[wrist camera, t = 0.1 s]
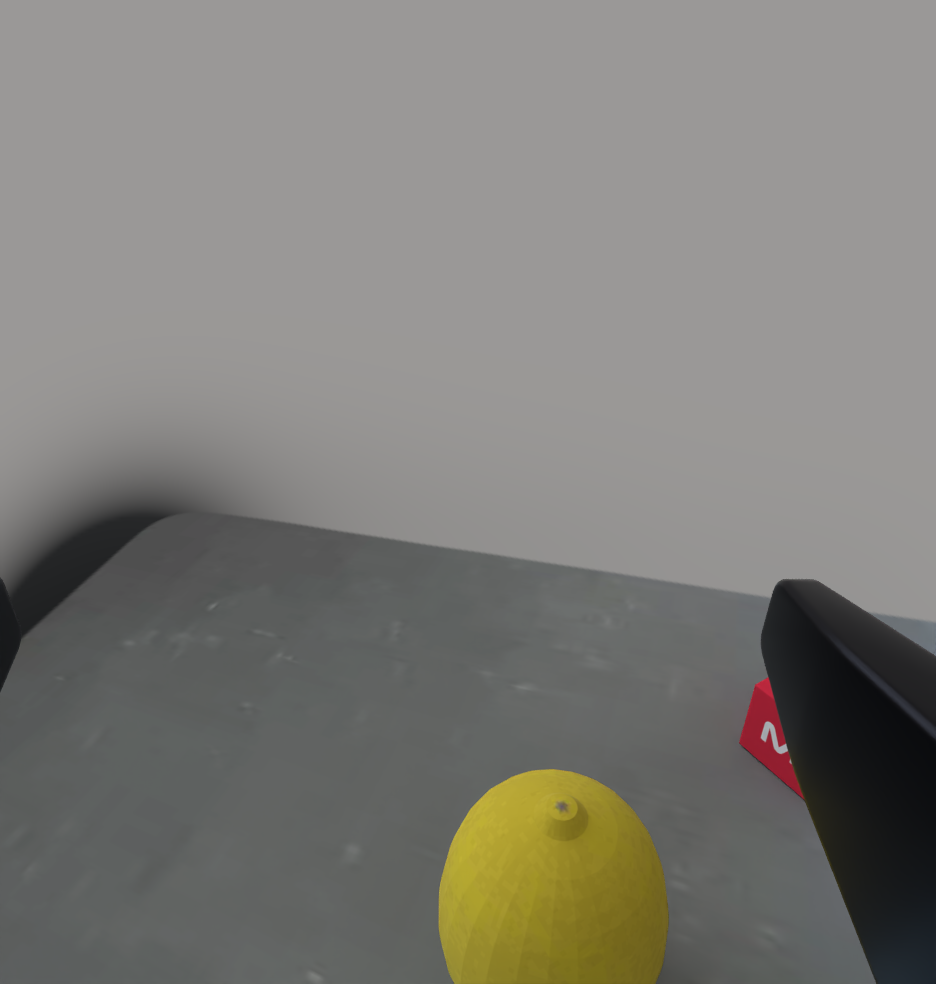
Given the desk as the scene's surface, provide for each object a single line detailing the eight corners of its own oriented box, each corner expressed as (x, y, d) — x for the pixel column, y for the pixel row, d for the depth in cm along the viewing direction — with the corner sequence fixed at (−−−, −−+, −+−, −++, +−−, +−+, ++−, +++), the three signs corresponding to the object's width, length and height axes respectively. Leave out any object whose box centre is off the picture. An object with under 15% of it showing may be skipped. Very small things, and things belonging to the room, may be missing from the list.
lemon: (398, 1000, 20) (382, 813, 16) (525, 858, 24) (538, 674, 20) (566, 1177, 17) (599, 1002, 13) (684, 983, 21) (738, 796, 17)
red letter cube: (862, 765, 27) (886, 705, 25) (808, 803, 26) (830, 743, 24) (792, 710, 29) (810, 652, 28) (738, 743, 28) (754, 684, 26)
